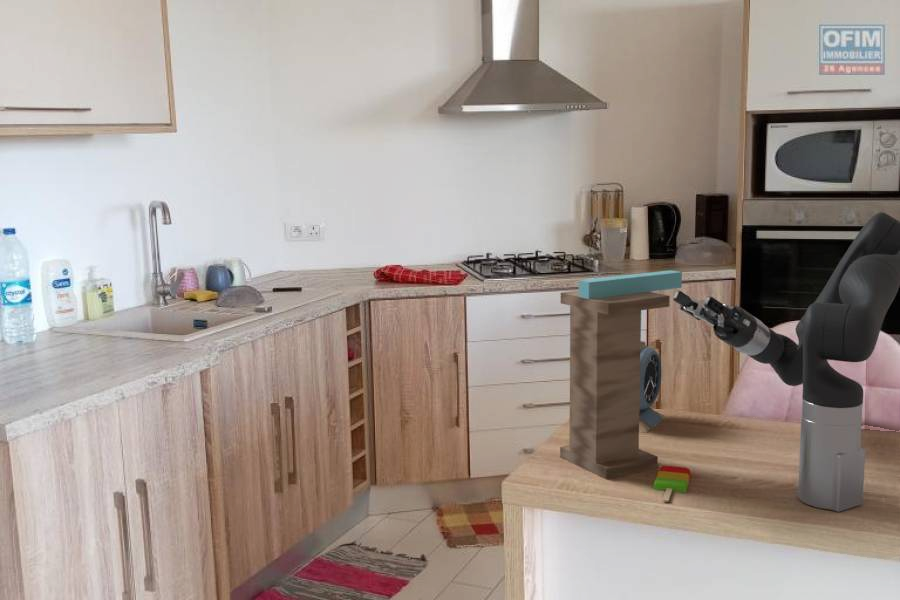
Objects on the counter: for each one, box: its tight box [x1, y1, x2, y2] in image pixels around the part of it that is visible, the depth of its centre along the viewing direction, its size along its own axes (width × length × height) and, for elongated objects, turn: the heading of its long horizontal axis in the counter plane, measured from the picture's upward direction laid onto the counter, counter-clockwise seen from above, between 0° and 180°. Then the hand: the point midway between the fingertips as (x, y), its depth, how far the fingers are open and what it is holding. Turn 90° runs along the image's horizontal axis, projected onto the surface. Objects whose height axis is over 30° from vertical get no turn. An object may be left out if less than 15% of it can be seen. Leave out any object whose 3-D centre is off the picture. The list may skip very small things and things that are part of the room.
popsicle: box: [653, 465, 692, 503], centre depth 163 cm, size 6×15×2 cm, turn 160°
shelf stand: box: [559, 290, 670, 480], centre depth 174 cm, size 14×14×32 cm
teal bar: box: [578, 269, 683, 299], centre depth 173 cm, size 3×22×3 cm, turn 119°
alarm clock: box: [639, 340, 667, 433], centre depth 199 cm, size 14×10×18 cm
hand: (691, 297), depth 181 cm, fingers open, 8 cm apart
